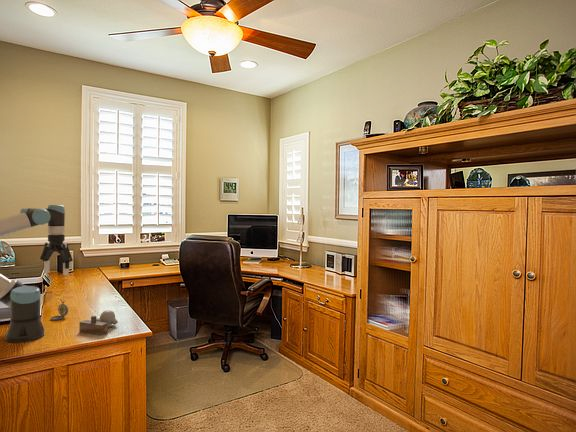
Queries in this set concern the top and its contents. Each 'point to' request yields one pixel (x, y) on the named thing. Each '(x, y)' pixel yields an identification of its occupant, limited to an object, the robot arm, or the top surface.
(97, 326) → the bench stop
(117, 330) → the top surface
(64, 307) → the pocket watch
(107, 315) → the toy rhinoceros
